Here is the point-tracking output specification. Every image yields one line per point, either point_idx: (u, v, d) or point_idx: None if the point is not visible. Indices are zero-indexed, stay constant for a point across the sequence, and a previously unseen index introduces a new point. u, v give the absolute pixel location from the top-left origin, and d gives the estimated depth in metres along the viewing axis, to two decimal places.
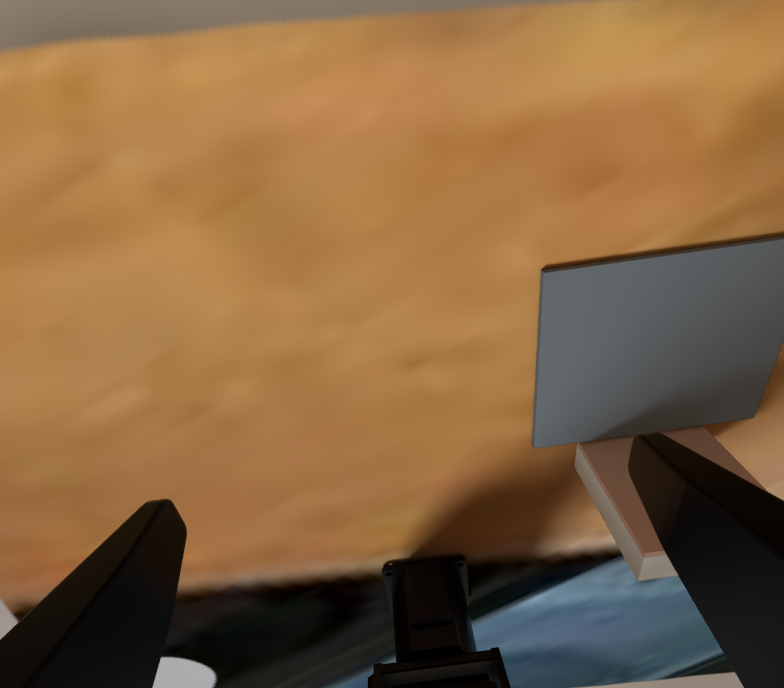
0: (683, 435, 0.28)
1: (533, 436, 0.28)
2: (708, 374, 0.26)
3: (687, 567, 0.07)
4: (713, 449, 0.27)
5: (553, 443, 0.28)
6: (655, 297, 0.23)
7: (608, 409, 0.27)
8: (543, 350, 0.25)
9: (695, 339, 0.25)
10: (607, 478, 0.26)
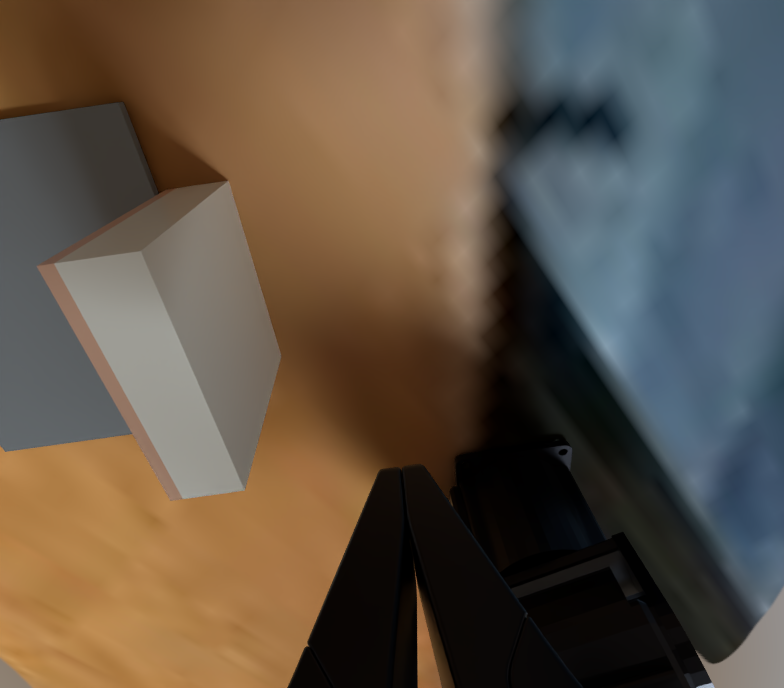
0: None
1: None
2: (57, 231, 0.17)
3: (422, 603, 0.07)
4: None
5: None
6: None
7: None
8: (94, 435, 0.22)
9: (9, 274, 0.18)
10: None
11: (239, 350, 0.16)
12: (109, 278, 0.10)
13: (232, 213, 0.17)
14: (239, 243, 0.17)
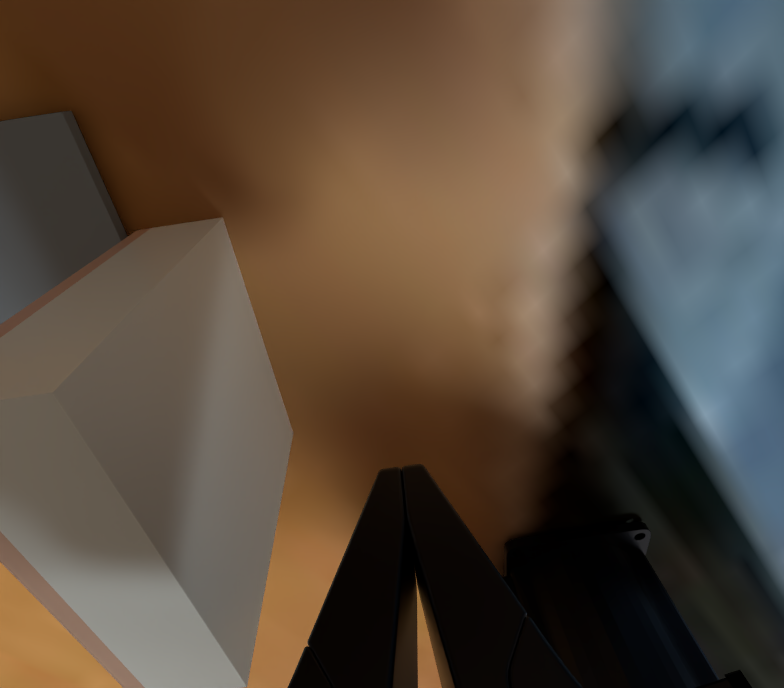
0: None
1: None
2: None
3: (422, 603, 0.07)
4: None
5: None
6: None
7: None
8: None
9: None
10: None
11: (238, 463, 0.11)
12: (1, 435, 0.06)
13: (228, 262, 0.12)
14: (238, 302, 0.13)
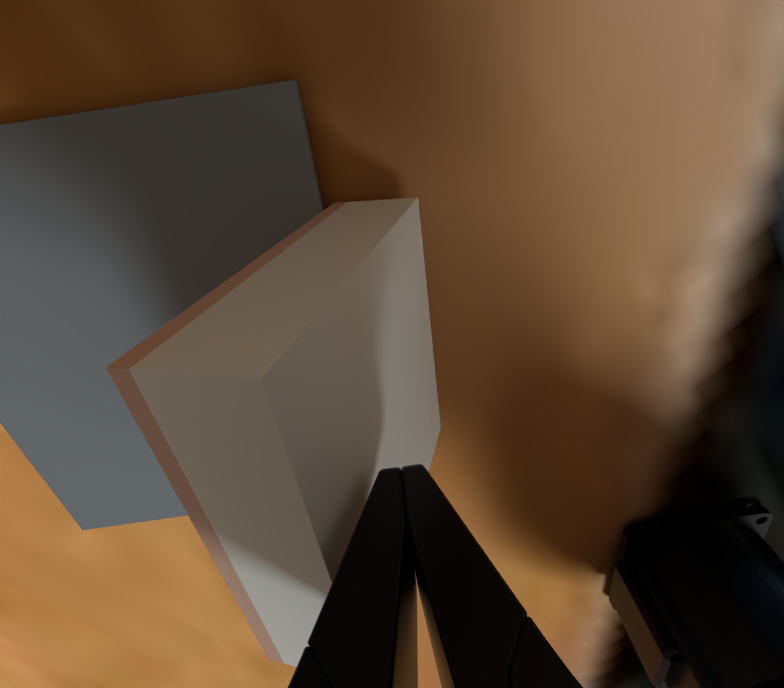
0: None
1: None
2: (184, 260, 0.12)
3: (422, 603, 0.07)
4: None
5: None
6: (61, 404, 0.15)
7: None
8: None
9: (113, 317, 0.13)
10: None
11: (394, 458, 0.10)
12: (208, 407, 0.06)
13: (416, 245, 0.12)
14: (417, 288, 0.12)
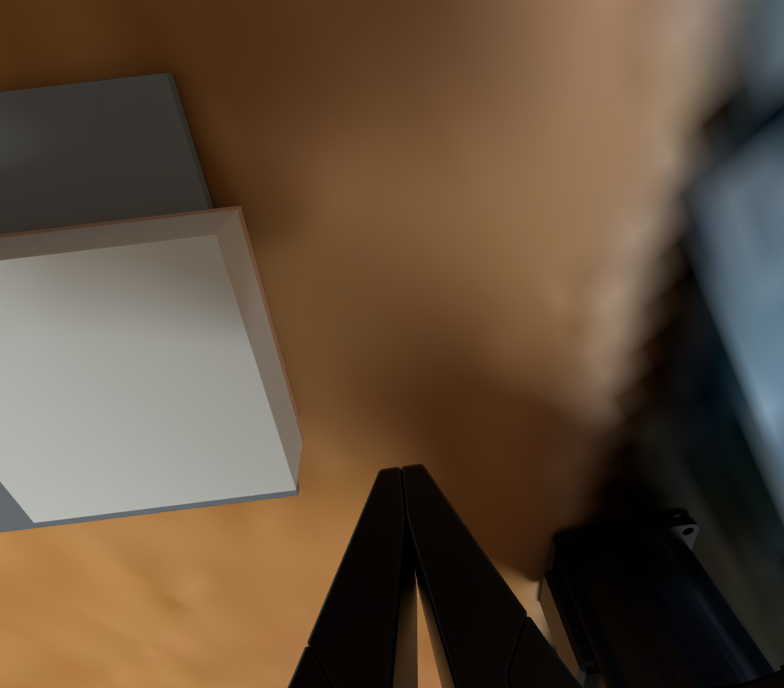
0: None
1: None
2: None
3: (422, 603, 0.07)
4: None
5: None
6: None
7: None
8: (104, 515, 0.17)
9: None
10: None
11: (101, 431, 0.12)
12: None
13: (199, 284, 0.10)
14: (201, 328, 0.11)
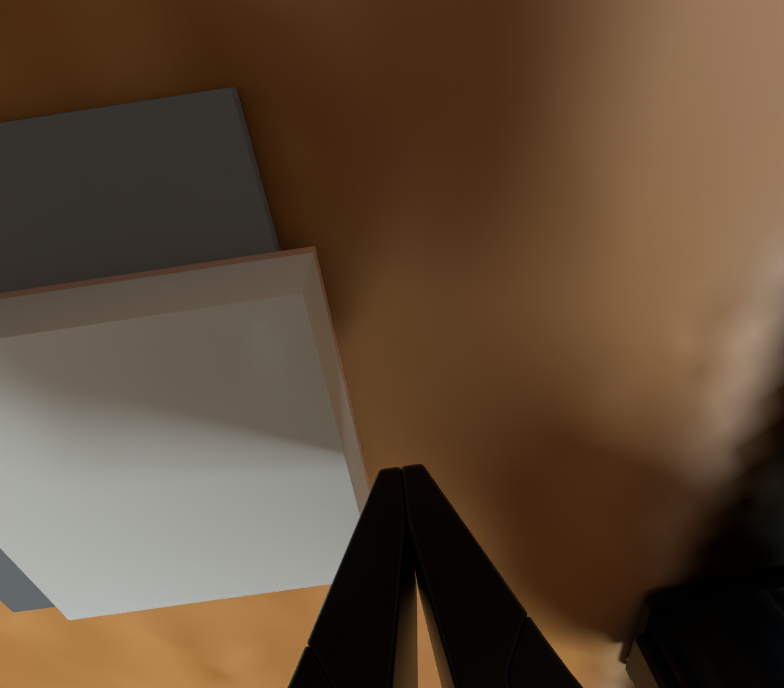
0: None
1: None
2: None
3: (422, 603, 0.07)
4: None
5: None
6: None
7: None
8: None
9: None
10: None
11: (150, 523, 0.10)
12: None
13: (278, 354, 0.08)
14: (276, 404, 0.08)
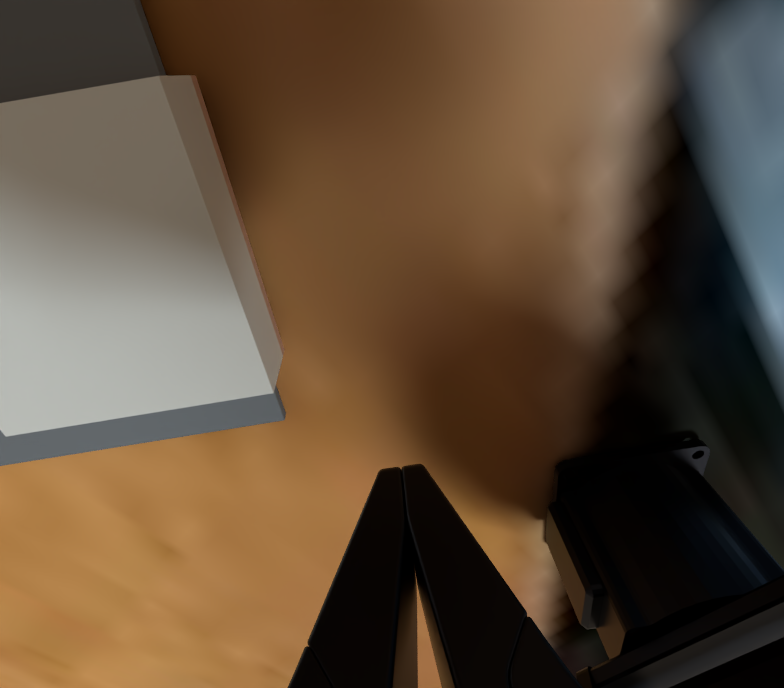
0: None
1: None
2: None
3: (422, 603, 0.07)
4: None
5: (270, 394, 0.16)
6: None
7: None
8: (87, 447, 0.17)
9: None
10: None
11: (63, 324, 0.11)
12: None
13: (148, 139, 0.09)
14: (154, 194, 0.10)
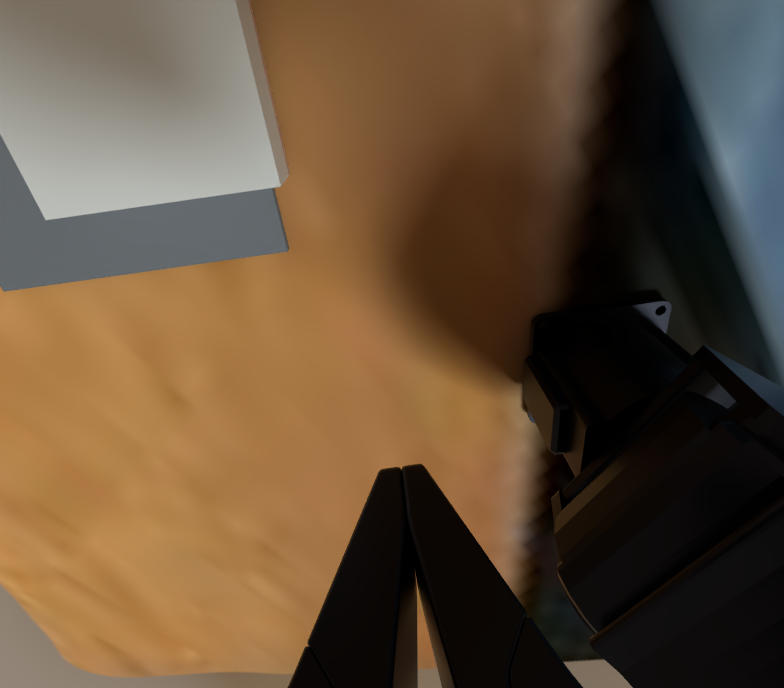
0: None
1: None
2: None
3: (422, 603, 0.07)
4: None
5: (276, 222, 0.18)
6: None
7: None
8: (110, 271, 0.18)
9: None
10: None
11: (104, 99, 0.13)
12: None
13: None
14: None
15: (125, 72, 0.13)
